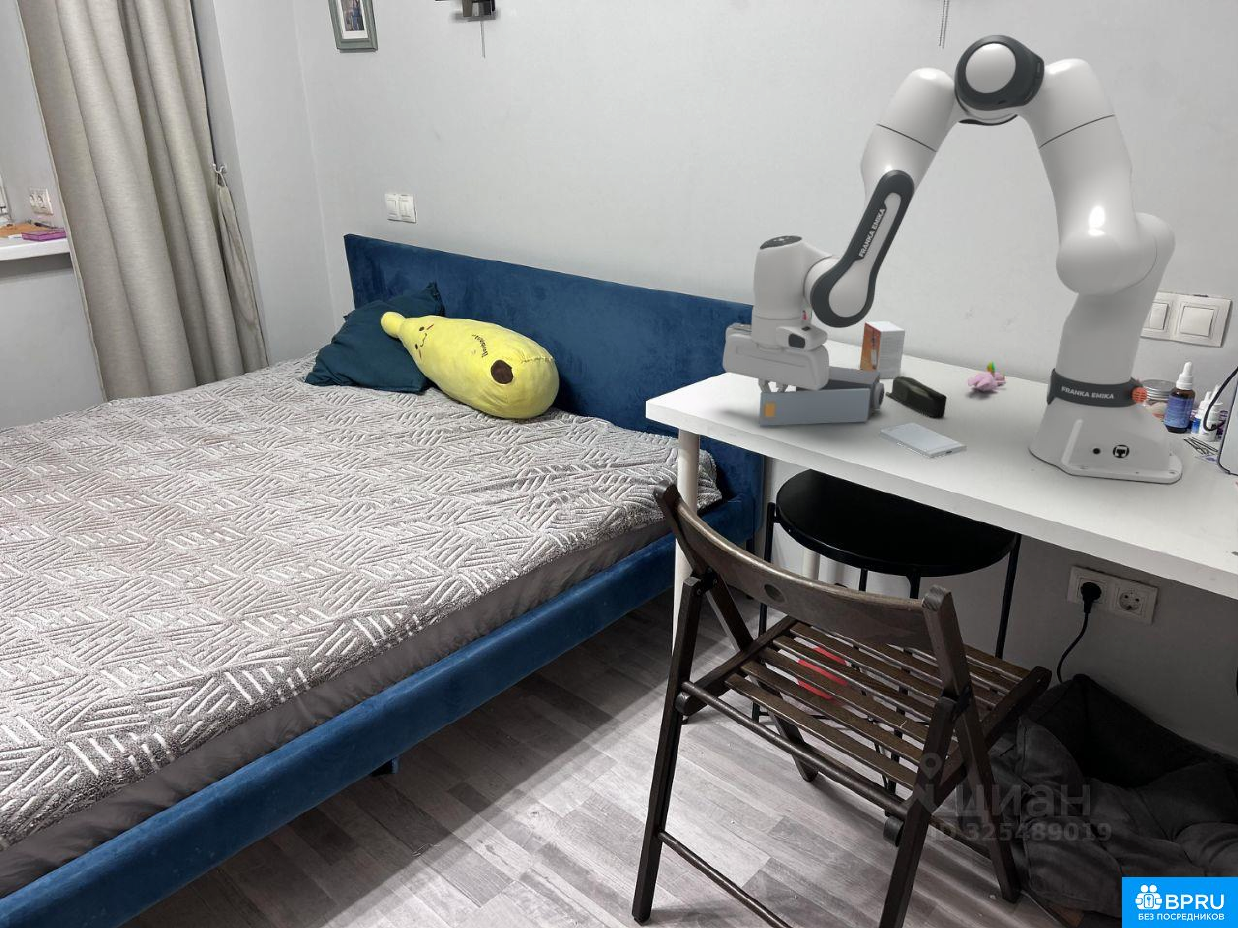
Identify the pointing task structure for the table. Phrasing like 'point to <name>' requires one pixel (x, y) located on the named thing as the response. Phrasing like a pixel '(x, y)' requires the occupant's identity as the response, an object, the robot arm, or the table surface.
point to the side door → (814, 406)
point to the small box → (882, 348)
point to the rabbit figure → (987, 379)
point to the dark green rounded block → (918, 396)
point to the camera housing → (855, 384)
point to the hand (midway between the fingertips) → (772, 403)
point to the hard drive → (922, 440)
